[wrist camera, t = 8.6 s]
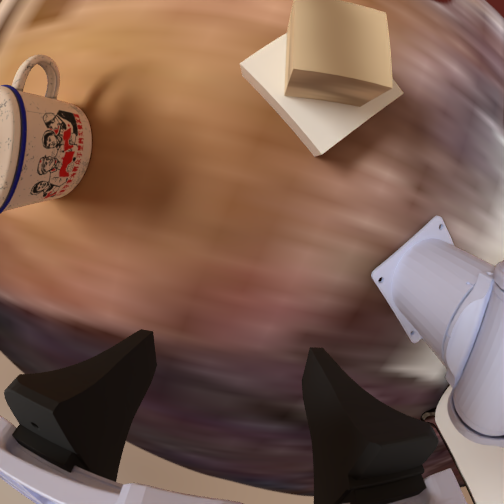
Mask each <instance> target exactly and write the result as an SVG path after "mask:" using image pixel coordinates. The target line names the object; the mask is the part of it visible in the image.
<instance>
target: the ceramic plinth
mask: <svg viewBox="0 0 504 504" xmlns="http://www.w3.org/2000/svg"><path fill="white" fill-rule="evenodd" d="M286 41H287V33H286V34H284V35H283V36H281V37H279V38H278V39H276V40H274V41H273V42H271V43H270V44H268V45H266V46H265V47H263V48H262V49H260V50H259V51H257V52H256V53H254V54H253V55H251V56H250V57H248V58H247V59H246V60H244V61H243V62H241V63H240V67H241V72H242V76H243V77H244V78H245V79H246V80H247V81H248V82H249V83H250V84H251V85H252V86H253V87H254V88H255V89H256V90H257V91H258V92H259V93H260V94H261V96H262V97H263V98H264V99H265V100H266V101H267V102H268V103H269V104H270V105H271V106H272V107H273V108H274V110H275V111H276V112H277V113H278V114H279V115H280V116H281V117H282V118H283V120H284V121H285V122H286V123H287V124H288V125H289V127H290V128H291V129H292V130H293V131H294V132H295V134H296V135H297V136H298V137H299V138H300V139H301V141H302V142H303V143H304V144H305V145H306V147H307V148H308V149H309V150H310V152H311V153H312V154H313V155H314V157H315V156H319V155H322V154H323V153H325V152H326V151H327V150H329V149H330V148H331V147H332V146H334V145H335V144H336V143H338V142H339V141H340V140H342V139H343V138H344V137H346V136H347V135H348V134H349V133H351V132H352V131H353V130H355V129H356V128H357V127H359V126H360V125H361V124H363V123H364V122H365V121H367V120H368V119H369V118H371V117H372V116H373V115H375V114H376V113H378V112H379V111H380V110H382V109H383V108H384V107H386V106H387V105H388V104H390V103H391V102H393V101H394V100H395V99H397V98H398V97H399V96H401V95H402V94H404V93H403V91H402V90H401V89H400V87H399V86H398V85H397V83H396V82H395V81H394V80H393V78H392V84H393V88H392V89H390V90H388V91H387V92H385V93H383V94H381V95H380V96H378V97H376V98H374V99H373V100H371V101H369V102H368V103H366V104H364V105H362V106H361V107H358V106H353V105H347V104H342V103H336V102H330V101H323V100H316V99H309V98H300V97H291V96H284V88H285V66H286Z"/></svg>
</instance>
